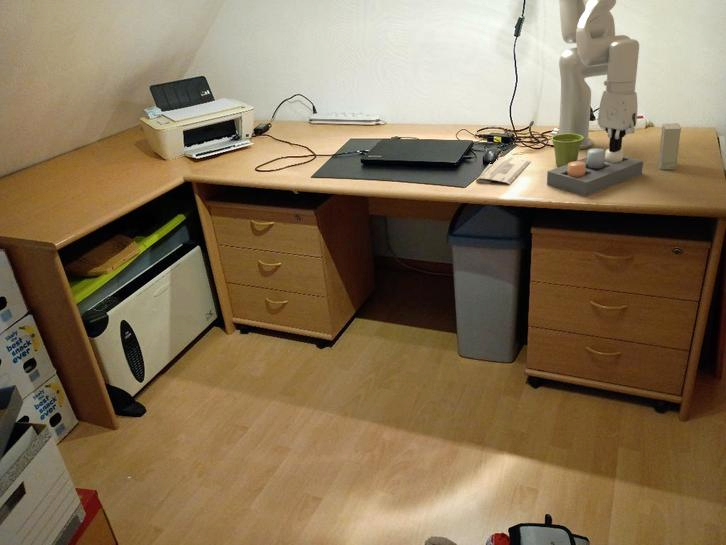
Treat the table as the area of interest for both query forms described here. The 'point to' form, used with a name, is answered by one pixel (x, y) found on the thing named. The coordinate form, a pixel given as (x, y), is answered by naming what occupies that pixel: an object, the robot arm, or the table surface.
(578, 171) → the light brown oval
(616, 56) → the robot arm
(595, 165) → the pale blue egg
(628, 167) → the grey egg holder
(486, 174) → the newspaper
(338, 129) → the table surface
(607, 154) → the cream white egg
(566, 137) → the plant pot
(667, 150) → the skincare box
